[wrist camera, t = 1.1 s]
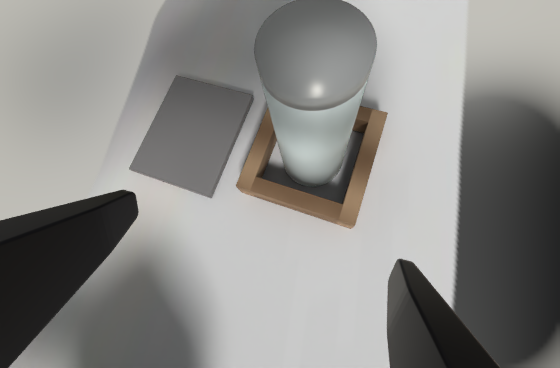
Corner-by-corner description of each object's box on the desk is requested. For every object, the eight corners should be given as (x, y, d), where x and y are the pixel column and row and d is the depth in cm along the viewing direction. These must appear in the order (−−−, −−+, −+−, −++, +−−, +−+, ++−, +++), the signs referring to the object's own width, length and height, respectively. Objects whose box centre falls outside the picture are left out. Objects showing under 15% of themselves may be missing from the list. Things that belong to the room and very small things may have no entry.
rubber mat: (211, 198, 24) (209, 196, 23) (132, 170, 25) (128, 168, 25) (253, 98, 26) (252, 95, 26) (179, 79, 28) (176, 75, 27)
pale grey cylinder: (332, 194, 23) (357, 111, 11) (274, 176, 24) (236, 80, 11) (349, 140, 24) (390, 8, 12) (294, 125, 25) (277, -12, 13)
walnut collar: (351, 228, 22) (354, 225, 20) (241, 192, 24) (235, 186, 22) (381, 124, 24) (387, 112, 22) (279, 98, 26) (276, 85, 24)
